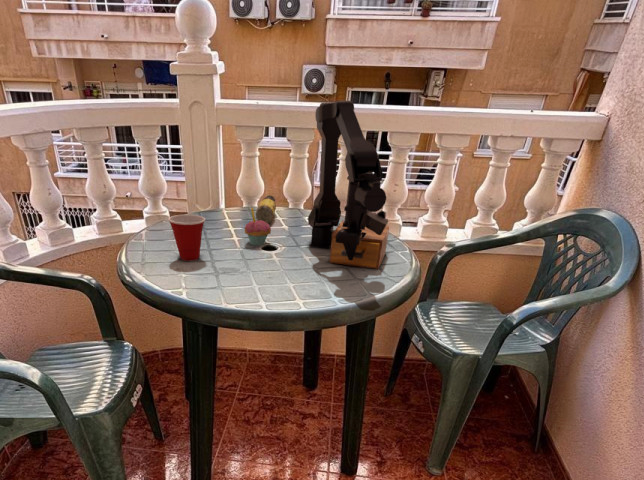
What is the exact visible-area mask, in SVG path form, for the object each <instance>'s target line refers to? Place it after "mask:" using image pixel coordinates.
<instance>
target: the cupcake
mask: <svg viewBox="0 0 644 480" xmlns="http://www.w3.org/2000/svg"><path fill="white" fill-rule="evenodd" d="M250 207H251V217H252V220H251V221H249V222H247V224H246V225H245V226H244V234H246V235H247V237H248V240H249V243H250V245H252V246H263V245H265V244H266V240H267V237H268V235H270V234H271V233H272V228H271V225H270V223H266V222H265V221H261V220H257V219H256V215H255V212H254V210H255V209H254V207H253V205H251V206H250Z"/></svg>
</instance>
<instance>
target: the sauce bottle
mask: <svg viewBox="0 0 644 480" xmlns="http://www.w3.org/2000/svg"><path fill="white" fill-rule="evenodd" d="M276 209H277V205H276V199H275V197H274V195H267V196H265V197H263V198H262V199H261V200H260V202H259V203H258V206H257V209H256V210H255V211H256V212H255V220H261V221H265V222H266V223H268V224H270V222H271V221H272V220H273V217H274V215H275V212H276Z"/></svg>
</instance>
